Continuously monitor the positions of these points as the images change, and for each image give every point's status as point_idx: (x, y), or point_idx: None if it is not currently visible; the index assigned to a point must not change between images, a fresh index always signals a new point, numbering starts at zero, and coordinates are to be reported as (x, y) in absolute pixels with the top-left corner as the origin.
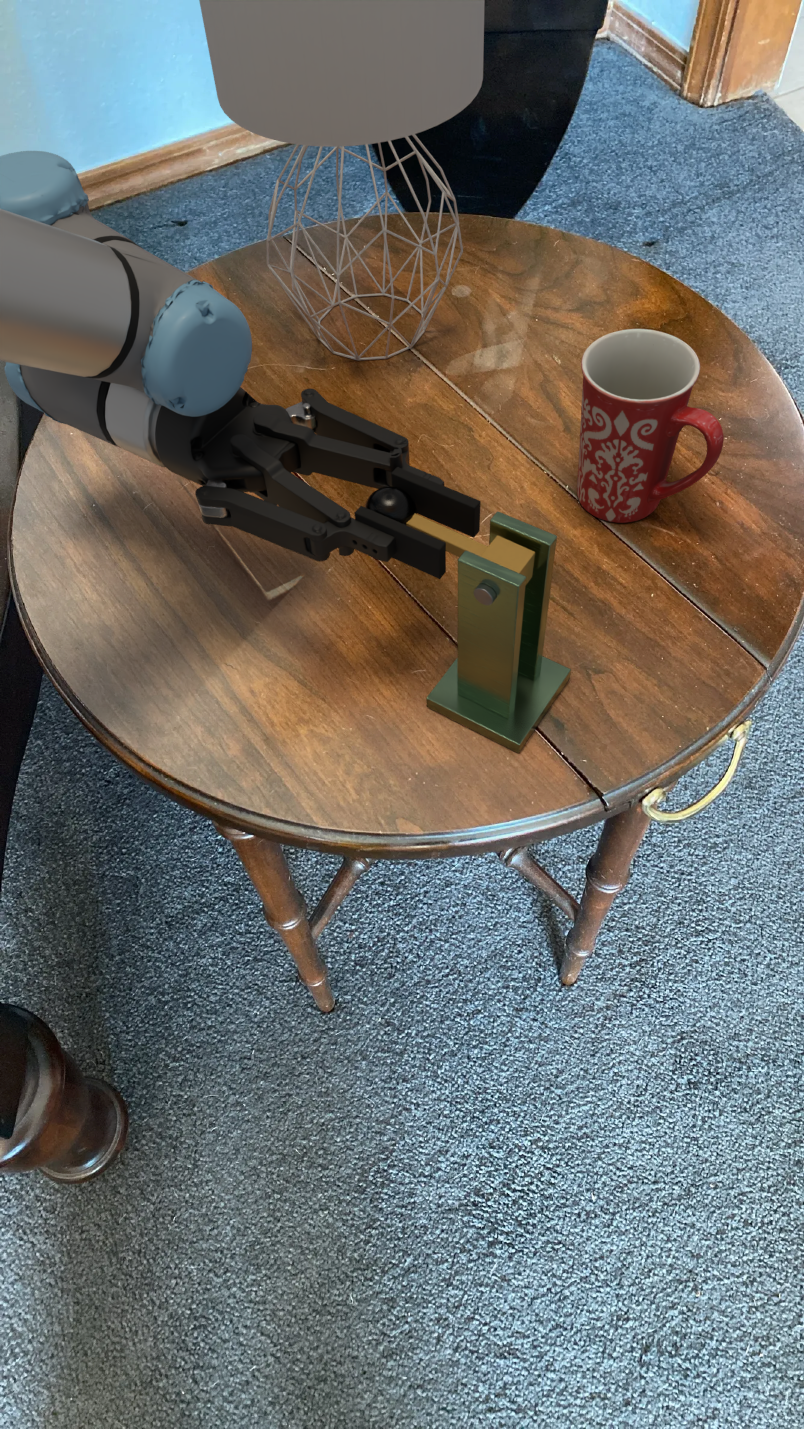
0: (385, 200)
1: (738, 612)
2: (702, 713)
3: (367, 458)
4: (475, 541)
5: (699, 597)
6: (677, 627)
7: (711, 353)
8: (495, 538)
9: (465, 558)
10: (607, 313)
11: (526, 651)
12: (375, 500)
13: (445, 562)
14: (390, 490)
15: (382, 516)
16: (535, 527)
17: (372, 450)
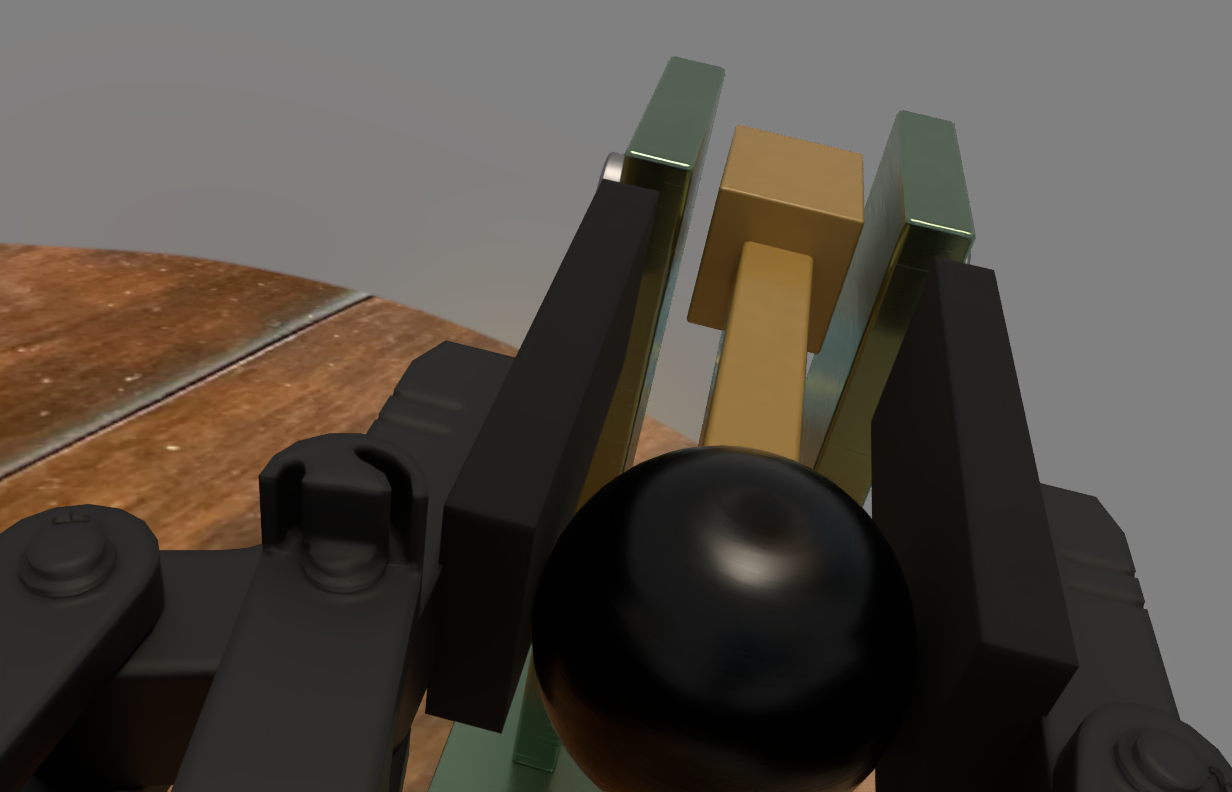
0: None
1: (222, 318)
2: None
3: (356, 768)
4: (743, 276)
5: (176, 371)
6: (285, 404)
7: None
8: (744, 189)
9: (953, 217)
10: None
11: None
12: (843, 586)
13: (892, 371)
14: (730, 492)
15: (973, 501)
16: (664, 83)
17: (221, 751)
